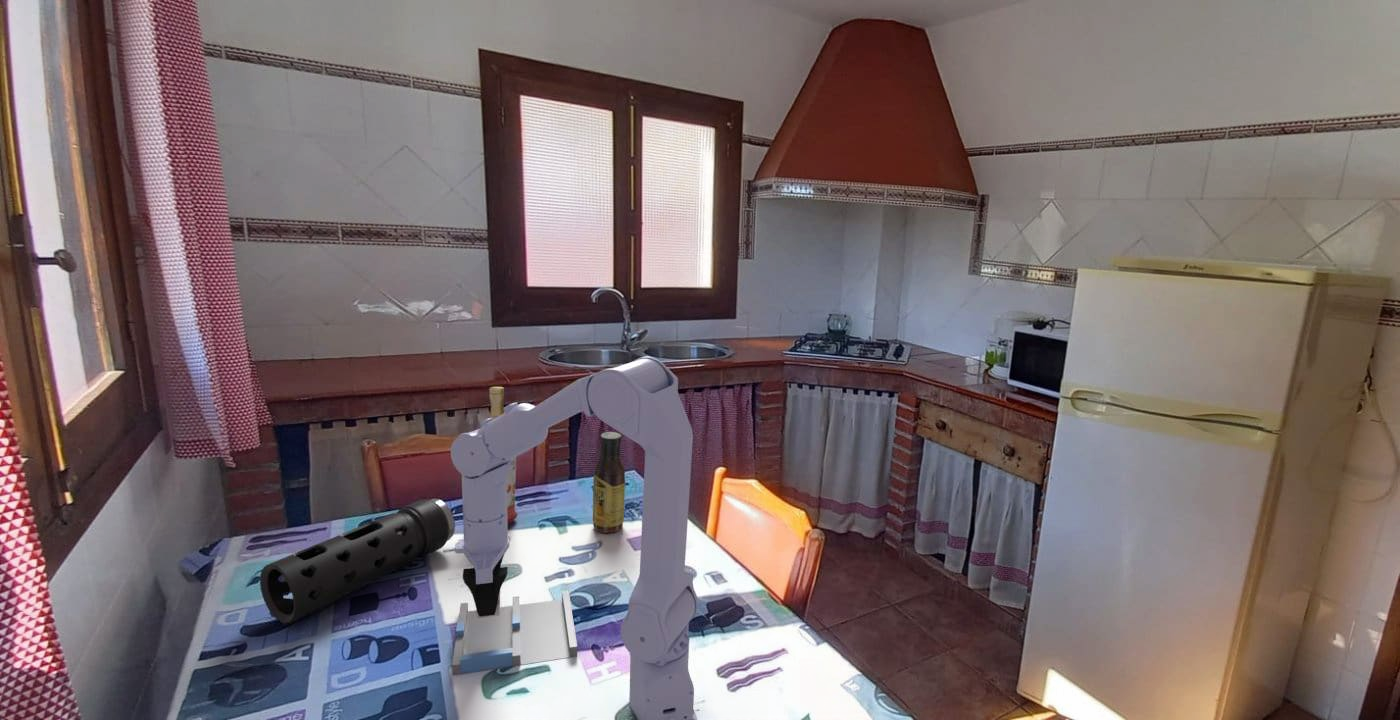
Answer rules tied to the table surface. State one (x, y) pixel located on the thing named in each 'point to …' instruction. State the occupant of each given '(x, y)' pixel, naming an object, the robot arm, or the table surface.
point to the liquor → (496, 411)
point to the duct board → (514, 636)
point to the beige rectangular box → (495, 612)
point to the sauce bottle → (609, 486)
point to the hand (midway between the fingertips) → (487, 602)
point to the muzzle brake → (354, 559)
